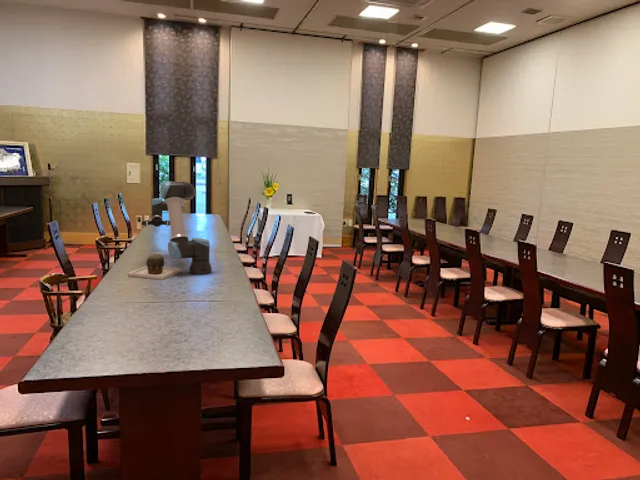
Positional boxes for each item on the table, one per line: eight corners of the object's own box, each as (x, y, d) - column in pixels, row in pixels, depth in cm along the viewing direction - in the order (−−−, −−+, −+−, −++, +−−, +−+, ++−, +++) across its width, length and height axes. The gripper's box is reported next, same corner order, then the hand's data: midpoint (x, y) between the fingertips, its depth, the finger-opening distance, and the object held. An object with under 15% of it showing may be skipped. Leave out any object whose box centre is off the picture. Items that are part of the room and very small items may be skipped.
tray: (180, 272, 320) (180, 268, 320) (162, 280, 297) (162, 276, 296) (148, 268, 324) (148, 265, 324) (127, 276, 301) (127, 272, 301)
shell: (166, 271, 316) (166, 253, 314) (159, 275, 305) (159, 257, 303) (151, 270, 317) (151, 252, 315) (143, 274, 306) (143, 255, 304)
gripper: (174, 226, 351) (176, 230, 331) (138, 225, 343) (137, 230, 323) (174, 216, 350) (176, 219, 330) (138, 215, 341) (137, 219, 322)
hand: (157, 224), depth 326 cm, fingers open, 13 cm apart
